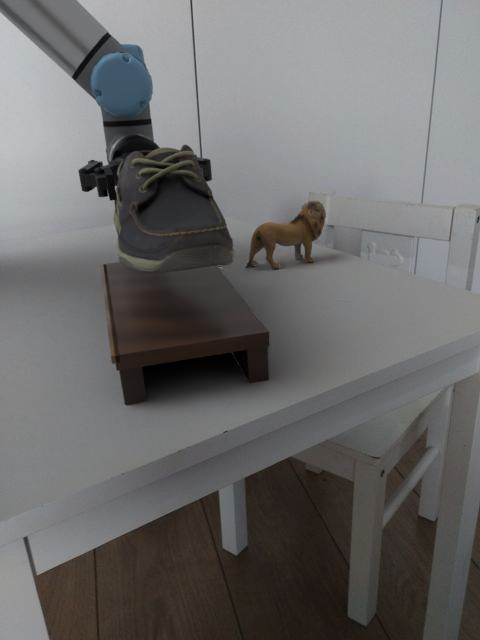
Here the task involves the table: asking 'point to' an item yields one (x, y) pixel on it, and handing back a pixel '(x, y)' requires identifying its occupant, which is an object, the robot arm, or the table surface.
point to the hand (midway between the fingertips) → (154, 183)
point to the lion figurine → (289, 234)
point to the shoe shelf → (178, 323)
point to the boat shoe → (168, 214)
